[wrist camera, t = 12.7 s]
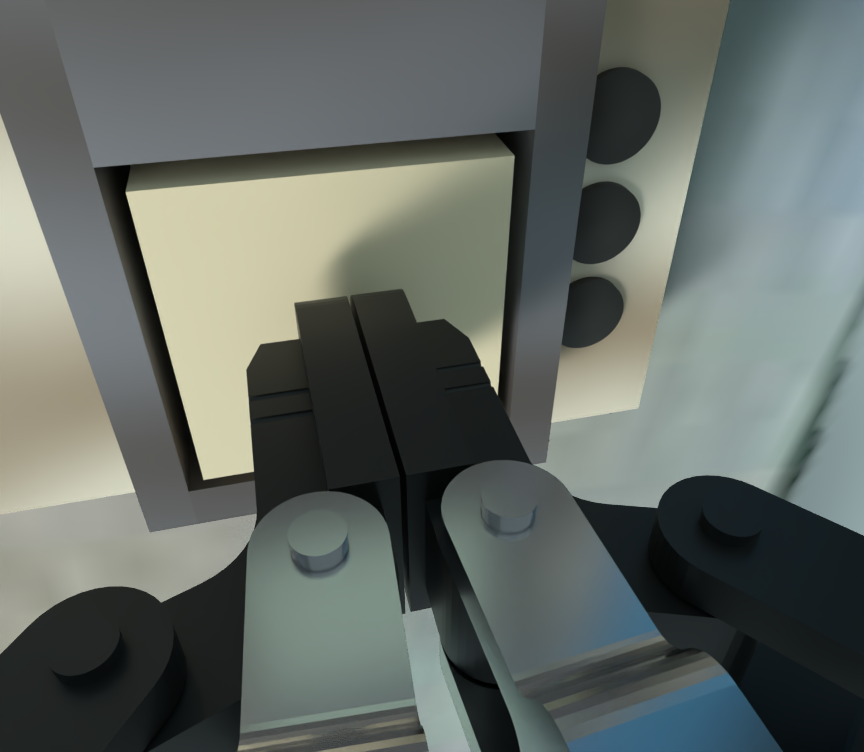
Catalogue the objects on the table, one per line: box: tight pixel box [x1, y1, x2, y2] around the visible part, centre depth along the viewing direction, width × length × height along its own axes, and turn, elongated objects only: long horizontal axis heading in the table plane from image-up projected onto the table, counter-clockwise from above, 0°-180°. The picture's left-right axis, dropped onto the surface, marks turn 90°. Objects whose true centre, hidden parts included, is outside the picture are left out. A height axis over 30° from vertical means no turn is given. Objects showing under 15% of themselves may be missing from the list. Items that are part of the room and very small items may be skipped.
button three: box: [126, 133, 515, 480], centre depth 12 cm, size 5×5×2 cm
